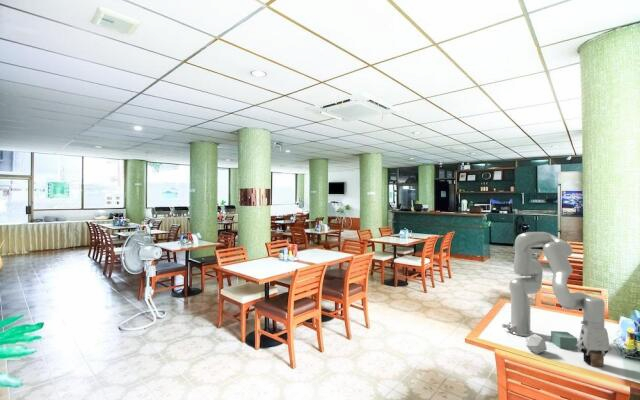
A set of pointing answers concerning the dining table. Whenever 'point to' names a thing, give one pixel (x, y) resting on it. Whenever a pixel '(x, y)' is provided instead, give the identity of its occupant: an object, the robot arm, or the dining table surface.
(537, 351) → the die
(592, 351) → the walnut block
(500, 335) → the dining table surface
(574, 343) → the base block
